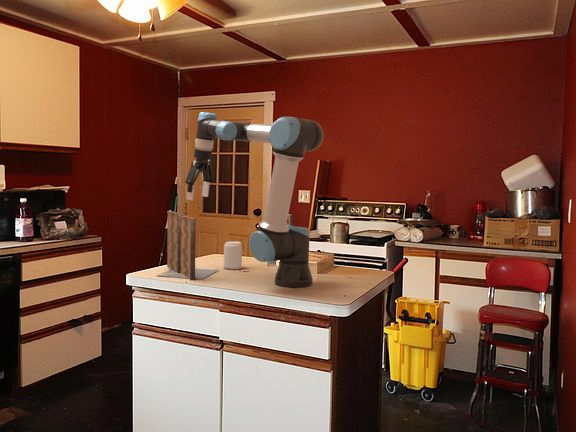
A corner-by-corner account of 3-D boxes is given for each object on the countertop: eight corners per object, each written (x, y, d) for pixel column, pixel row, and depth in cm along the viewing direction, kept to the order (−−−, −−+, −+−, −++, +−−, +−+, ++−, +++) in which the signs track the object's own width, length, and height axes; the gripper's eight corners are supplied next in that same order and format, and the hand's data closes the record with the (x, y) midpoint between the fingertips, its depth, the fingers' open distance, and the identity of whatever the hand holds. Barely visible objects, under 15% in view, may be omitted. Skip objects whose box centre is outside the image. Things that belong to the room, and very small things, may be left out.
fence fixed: (176, 273, 222) (176, 212, 220) (181, 273, 223) (182, 212, 221) (190, 280, 209) (191, 215, 207) (196, 279, 210) (197, 215, 208)
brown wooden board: (180, 271, 223) (180, 213, 221) (177, 271, 222) (177, 213, 220) (169, 266, 233) (170, 211, 231) (166, 266, 233) (167, 211, 231)
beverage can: (220, 268, 238) (220, 242, 237) (234, 266, 243) (235, 240, 242) (230, 270, 232) (231, 244, 231) (245, 268, 237) (245, 242, 236)
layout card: (218, 270, 230) (218, 269, 230) (202, 279, 211) (202, 278, 211) (176, 268, 234) (176, 267, 234) (156, 276, 215) (156, 275, 215)
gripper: (209, 147, 233) (203, 193, 238) (180, 148, 210) (174, 199, 214) (224, 150, 231) (218, 196, 235) (197, 151, 208) (190, 203, 212)
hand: (197, 198), depth 225 cm, fingers open, 13 cm apart
